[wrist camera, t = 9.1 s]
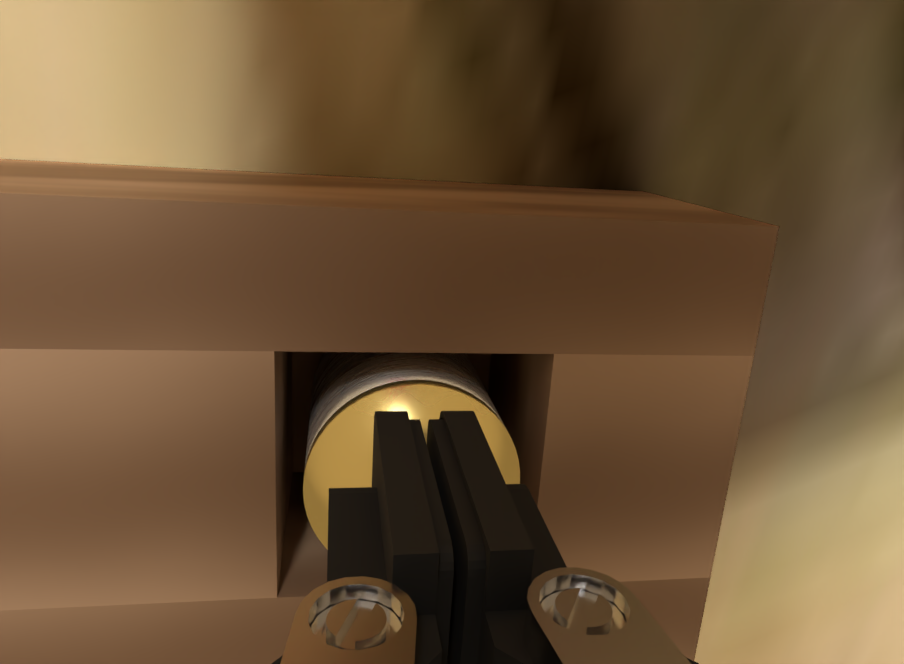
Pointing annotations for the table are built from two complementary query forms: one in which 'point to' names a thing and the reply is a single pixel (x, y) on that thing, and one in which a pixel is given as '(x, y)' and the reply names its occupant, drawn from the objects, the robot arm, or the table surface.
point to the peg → (386, 389)
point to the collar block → (292, 373)
